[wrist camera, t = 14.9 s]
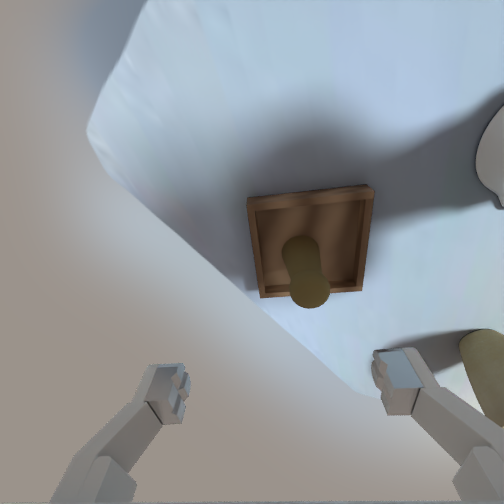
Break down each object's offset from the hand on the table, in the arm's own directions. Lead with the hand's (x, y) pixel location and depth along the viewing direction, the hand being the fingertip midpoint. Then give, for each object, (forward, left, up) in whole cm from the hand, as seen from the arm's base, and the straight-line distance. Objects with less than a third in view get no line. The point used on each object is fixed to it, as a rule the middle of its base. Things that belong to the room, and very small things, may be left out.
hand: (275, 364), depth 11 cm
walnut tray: (-5, +11, -29) cm, 31 cm away
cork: (-4, +12, -28) cm, 31 cm away
